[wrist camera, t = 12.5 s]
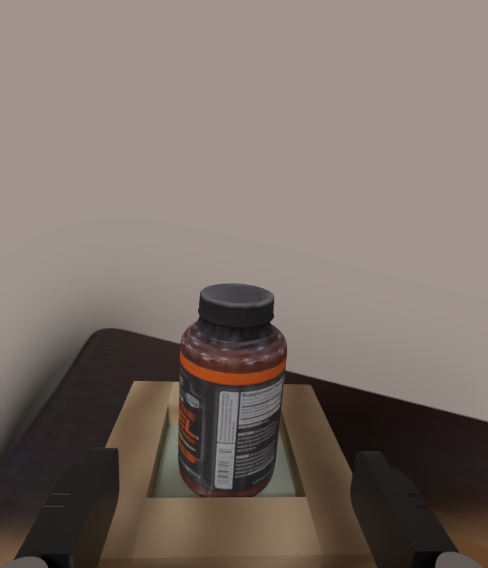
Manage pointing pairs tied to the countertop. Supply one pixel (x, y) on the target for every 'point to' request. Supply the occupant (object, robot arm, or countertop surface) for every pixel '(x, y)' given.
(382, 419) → the countertop surface
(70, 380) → the countertop surface
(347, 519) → the holder
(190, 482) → the supplement bottle
